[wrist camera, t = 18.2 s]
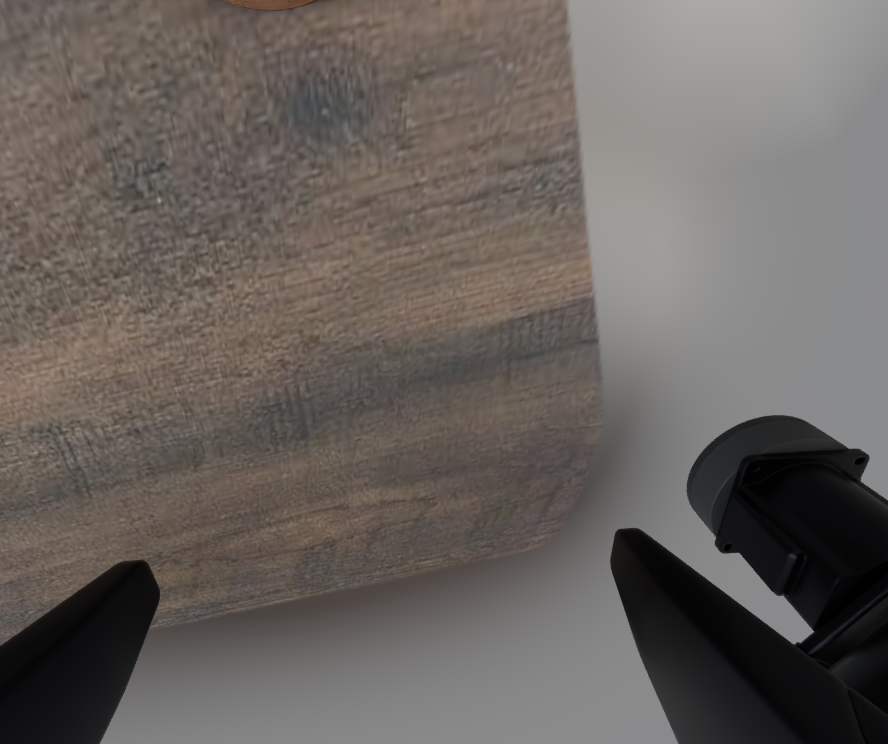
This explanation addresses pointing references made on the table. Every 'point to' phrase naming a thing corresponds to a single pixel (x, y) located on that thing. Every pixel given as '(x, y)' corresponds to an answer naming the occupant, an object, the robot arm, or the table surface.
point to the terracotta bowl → (269, 4)
